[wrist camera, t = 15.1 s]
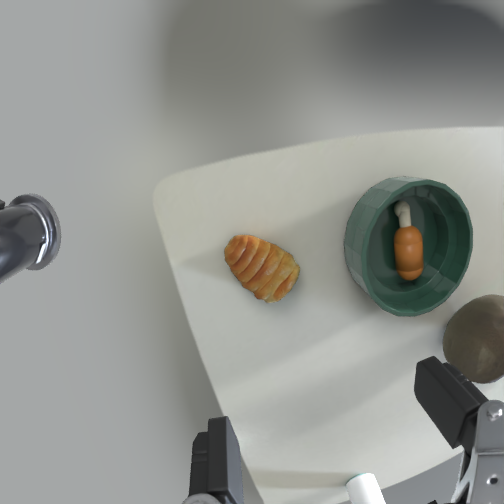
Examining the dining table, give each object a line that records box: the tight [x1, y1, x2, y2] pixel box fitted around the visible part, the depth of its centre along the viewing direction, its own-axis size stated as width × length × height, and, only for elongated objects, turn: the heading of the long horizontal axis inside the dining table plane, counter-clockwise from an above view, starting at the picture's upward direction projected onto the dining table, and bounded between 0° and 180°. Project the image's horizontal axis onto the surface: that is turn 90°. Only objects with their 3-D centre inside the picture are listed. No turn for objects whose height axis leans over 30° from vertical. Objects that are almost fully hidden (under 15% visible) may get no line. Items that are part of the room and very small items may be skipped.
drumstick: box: [394, 201, 424, 280], centre depth 38 cm, size 11×4×4 cm, turn 13°
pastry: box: [224, 235, 300, 303], centre depth 38 cm, size 9×7×4 cm
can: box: [346, 473, 385, 504], centre depth 50 cm, size 7×7×12 cm
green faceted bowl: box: [344, 176, 473, 316], centre depth 37 cm, size 17×17×6 cm
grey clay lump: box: [443, 295, 504, 384], centre depth 38 cm, size 14×14×15 cm
